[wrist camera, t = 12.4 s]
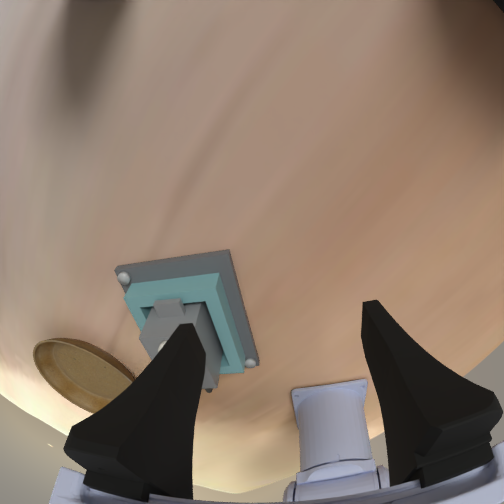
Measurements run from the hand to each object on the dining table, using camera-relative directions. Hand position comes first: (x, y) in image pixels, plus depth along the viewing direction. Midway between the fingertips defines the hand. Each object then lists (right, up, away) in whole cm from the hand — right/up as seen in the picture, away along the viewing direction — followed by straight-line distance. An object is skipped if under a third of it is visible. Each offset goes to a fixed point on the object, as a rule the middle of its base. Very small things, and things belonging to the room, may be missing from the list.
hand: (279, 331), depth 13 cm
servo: (-6, -4, +13) cm, 14 cm away
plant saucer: (-20, -10, +19) cm, 29 cm away
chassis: (-6, -2, +13) cm, 14 cm away
